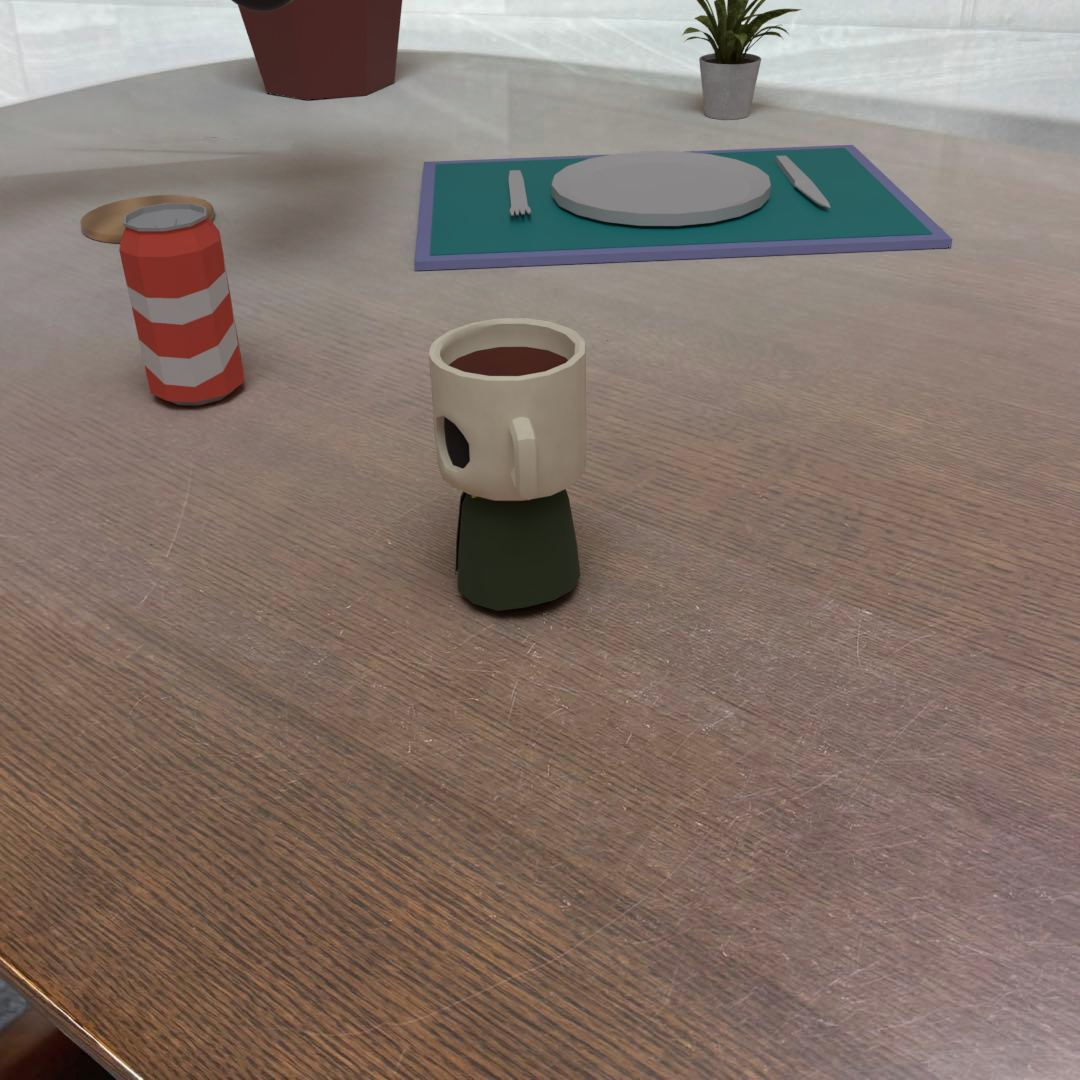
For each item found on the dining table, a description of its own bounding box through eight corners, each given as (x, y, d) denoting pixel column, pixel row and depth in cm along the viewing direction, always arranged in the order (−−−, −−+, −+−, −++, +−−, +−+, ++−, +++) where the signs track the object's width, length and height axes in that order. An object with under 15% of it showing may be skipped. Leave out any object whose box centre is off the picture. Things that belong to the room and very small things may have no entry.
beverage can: (151, 417, 78) (111, 235, 71) (154, 377, 83) (117, 204, 77) (246, 405, 79) (215, 225, 72) (244, 366, 84) (214, 195, 78)
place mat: (415, 270, 100) (413, 244, 98) (424, 169, 125) (422, 146, 124) (951, 247, 101) (955, 221, 100) (851, 152, 127) (854, 129, 125)
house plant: (697, 137, 133) (705, -24, 124) (638, 111, 144) (641, -39, 135) (805, 121, 138) (820, -35, 129) (740, 97, 148) (750, -49, 140)
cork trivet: (76, 249, 106) (74, 240, 106) (87, 209, 116) (86, 201, 116) (214, 236, 108) (213, 227, 108) (214, 198, 118) (213, 190, 118)
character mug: (438, 535, 65) (418, 308, 58) (567, 522, 66) (564, 296, 59) (458, 659, 56) (439, 407, 49) (609, 641, 57) (610, 391, 50)
